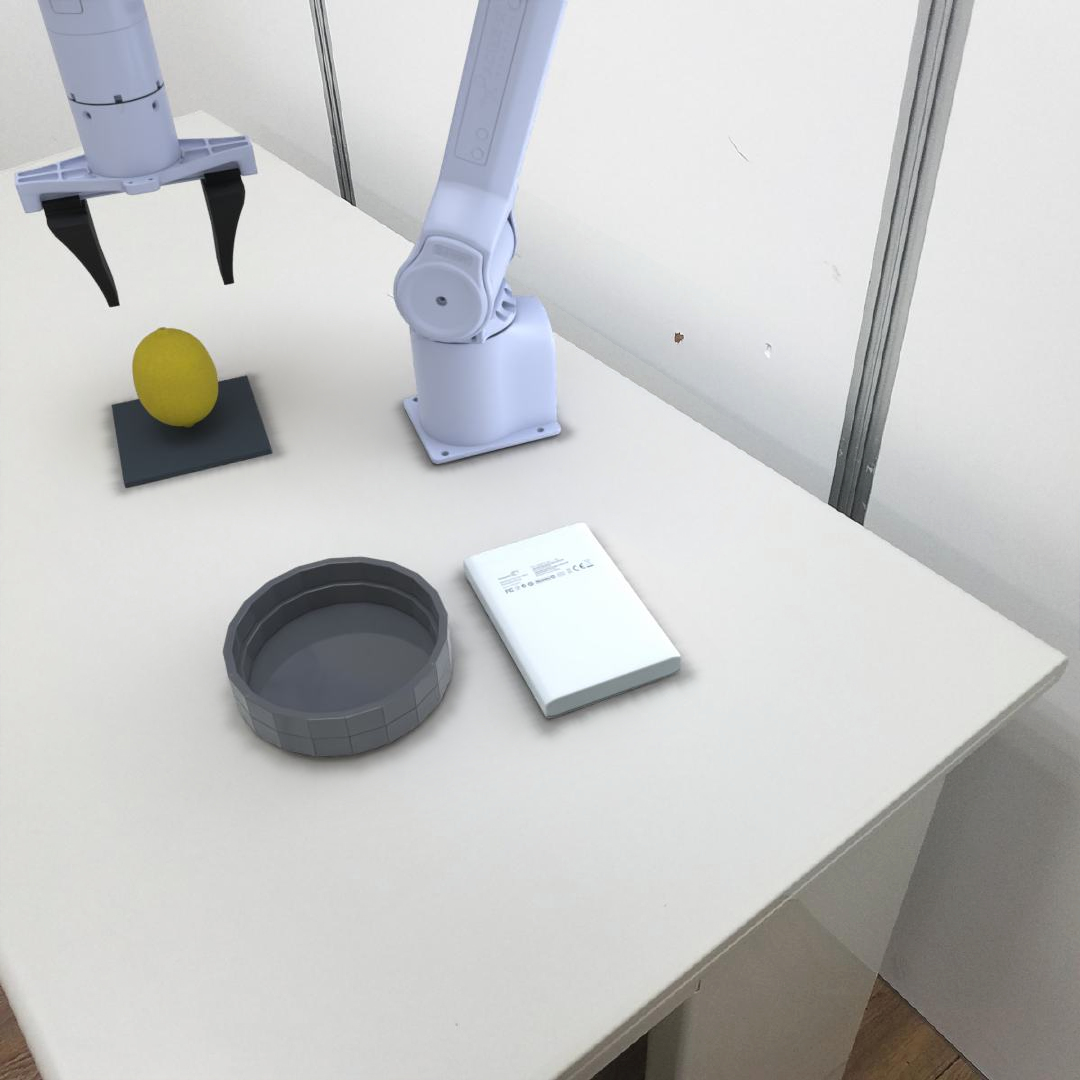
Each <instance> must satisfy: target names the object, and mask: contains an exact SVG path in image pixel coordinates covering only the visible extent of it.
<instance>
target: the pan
mask: <svg viewBox="0 0 1080 1080" xmlns="http://www.w3.org/2000/svg"><path fill="white" fill-rule="evenodd" d="M449 622H450V621H449V614H448V611H447V609H446V607H445V605H444V602H443V600H442V598H441V596H440V594H439V591H438V590H437V589H436V588H435V587H433V586H432V584H430V583H429V582H428V581H427V580H426V579H425V578H424V577H423V576H421V574H420V573H418V572H417V571H414V570H412V569H409V568H407V567H406V566H403V565H401V564H399V563H397V562H394V561H391V560H384V559H379V558H375V557H374V558H373V557H367V556H344V557H343V556H342V557H329V558H324V559H321V560H317V561H313V562H310V563H306V564H301V565H298V566H296V567H294V568H291V569H290V570H288V571H285V572H283V573H281V574H280V575H278V576H275V577H274V578H272V579H270V580H268V581H266V582H265V583H264V584H263V585H262V586H260V587H259V588H258V589H257V590H256V591H254V592H253V593H251V595H250V596H249V597H248V598H246V599H245V600H244V601H243V602H242V604H241V605H240V607H239V609H238V610H237V612H236V613H235V614H234V616H233V618H232V619H231V621H230V622H229V624H228V626H227V629H226V634H225V639H224V644H223V647H222V656H223V660H224V665H225V669H226V673H227V678H228V681H229V684H230V687H231V690H232V693H233V695H234V700H235V703H236V705H237V708H238V712H239V714H240V715H241V716H242V717H243V719H244V720H245V721H246V722H247V724H248V725H249V727H250V728H251V729H252V730H253V732H254V733H255V734H256V735H258V736H259V737H261V738H263V739H264V740H266V741H268V742H269V743H271V744H273V745H274V746H276V747H277V748H280V749H282V750H284V751H289V752H294V753H298V754H302V755H307V756H311V757H344V756H352V755H358V754H361V753H365V752H369V751H372V750H374V749H378V748H380V747H384V746H386V745H388V744H390V743H392V742H394V741H395V740H397V739H399V738H401V737H402V736H405V735H406V734H407V733H410V731H411V730H414V729H415V728H416V727H418V726H420V724H422V722H423V721H424V720H425V719H426V718H427V717H428V716H429V715H430V714H431V713H432V712H433V710H434V709H435V708H436V707H438V705H439V704H440V702H441V701H442V699H443V696H444V694H445V691H446V689H447V687H448V685H449V683H450V681H451V678H452V674H453V673H452V672H453V671H452V670H453V647H452V638H451V631H450V629H451V628H450V623H449Z"/></svg>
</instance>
